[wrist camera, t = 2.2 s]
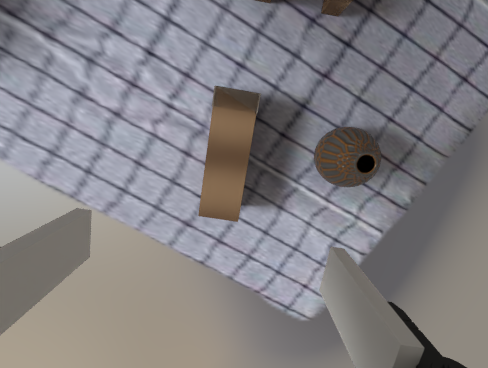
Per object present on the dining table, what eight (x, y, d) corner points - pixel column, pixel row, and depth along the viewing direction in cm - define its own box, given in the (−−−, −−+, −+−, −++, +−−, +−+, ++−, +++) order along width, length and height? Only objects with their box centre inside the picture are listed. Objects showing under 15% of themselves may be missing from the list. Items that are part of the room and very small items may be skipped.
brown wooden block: (239, 205, 36) (238, 221, 30) (204, 200, 35) (197, 215, 30) (257, 98, 33) (260, 93, 27) (219, 92, 32) (214, 85, 26)
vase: (360, 177, 35) (399, 195, 26) (309, 181, 35) (331, 200, 27) (361, 124, 33) (403, 124, 25) (307, 128, 33) (330, 131, 25)
